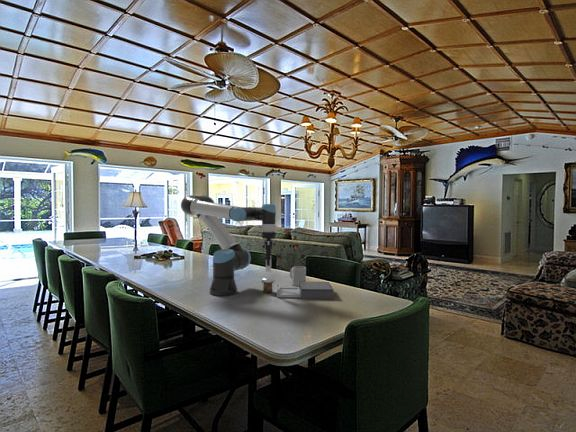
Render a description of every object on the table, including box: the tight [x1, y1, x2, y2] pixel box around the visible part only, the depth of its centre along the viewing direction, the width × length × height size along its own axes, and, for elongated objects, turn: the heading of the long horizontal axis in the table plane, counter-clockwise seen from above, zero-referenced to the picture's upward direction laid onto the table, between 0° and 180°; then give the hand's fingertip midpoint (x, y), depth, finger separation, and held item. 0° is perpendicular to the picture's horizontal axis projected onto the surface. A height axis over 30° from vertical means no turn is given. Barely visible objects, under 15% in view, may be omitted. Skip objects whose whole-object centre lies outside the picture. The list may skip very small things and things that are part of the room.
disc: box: [260, 276, 276, 284], centre depth 192 cm, size 8×8×2 cm
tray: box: [276, 282, 301, 299], centre depth 189 cm, size 17×16×4 cm
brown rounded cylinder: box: [262, 282, 273, 294], centre depth 193 cm, size 5×5×6 cm
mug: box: [289, 265, 307, 287], centre depth 212 cm, size 12×8×11 cm
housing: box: [299, 281, 334, 300], centre depth 189 cm, size 17×18×5 cm
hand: (268, 269), depth 192 cm, fingers open, 13 cm apart
